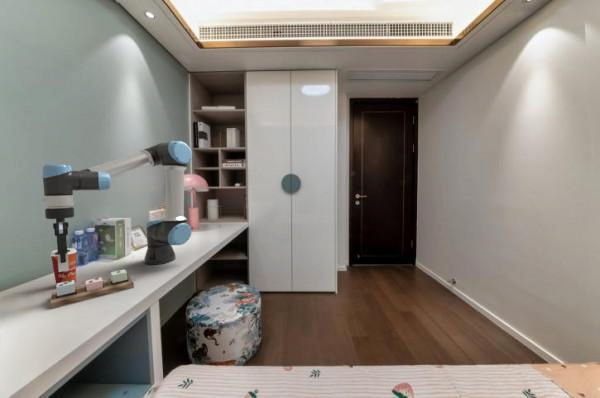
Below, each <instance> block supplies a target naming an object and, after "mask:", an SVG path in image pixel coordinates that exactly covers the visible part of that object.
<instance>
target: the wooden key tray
mask: <svg viewBox="0 0 600 398" xmlns="http://www.w3.org/2000/svg"><path fill="white" fill-rule="evenodd" d="M102 282H103V288H100V289H95V290H91V291H87V290H86V284H83V285H78V286H75V292H73V293H68V294H64V295H60V296H57V290H55V291H52V292H51V298H50V309H56V308H60V307H65V306H68V305H71V304H76V303H80V302H83V301H87V300H91V299H95V298H100V297H103V296H107V295H110V294H114V293H118V292H123V291H127V290H129V289H134V288H135V284H134V282H133V279H132V278H131V277H130V276H129V275H128V274H127V280H124V281H119V282H115V283H113V282H112V280H111V278H110V279H105V280H102Z"/></svg>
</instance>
